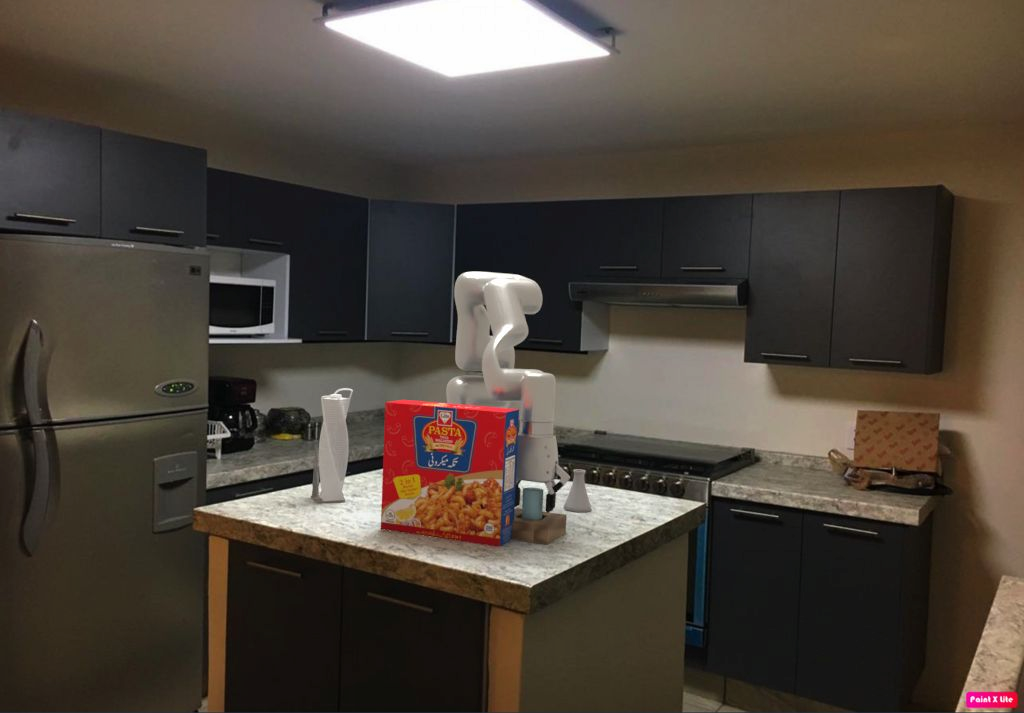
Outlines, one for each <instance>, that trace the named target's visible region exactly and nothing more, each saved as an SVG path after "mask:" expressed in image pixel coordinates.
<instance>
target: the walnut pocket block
mask: <svg viewBox="0 0 1024 713" xmlns="http://www.w3.org/2000/svg"><path fill="white" fill-rule="evenodd" d="M566 530H567V514H563V513H556V512H551V511H550V512H546V511H543V510H542V520H540V521H537V520H530V519H523V518H522V507H521V508H520V507H515V513H514V520H513V526H512V540H516V541H521V542H527V543H535V544H540V545H541V544H542V545H549V544H551V543H552V542H554V541H556V540H557V539H558V538H559V537H561V536H562V535H564V534H565V533H567V532H566Z"/></svg>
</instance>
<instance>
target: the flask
mask: <svg viewBox="0 0 1024 713" xmlns="http://www.w3.org/2000/svg"><path fill="white" fill-rule="evenodd" d="M572 472H573V480H572V486H570V487H571V488H570V490H569V492H568V496H567V497H566V500H565V502H564V504H563V509H564V510H565V511H571V512H578V513H579V512H580V513H581V512H583V513H584V512H585V513H586V512H590V511H592V506H591V503H590V499H589V496H588V491H587V488H586V481H585V474H586V473H587V471H586V470H585V469H581V468H580V469H578V468H577V469H573V470H572Z"/></svg>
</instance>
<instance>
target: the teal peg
mask: <svg viewBox="0 0 1024 713" xmlns="http://www.w3.org/2000/svg"><path fill="white" fill-rule="evenodd" d="M543 505H544V489H543V488H539V487H524V488H523V489H522V504H521V506H522V507H521V509H522V518H523V519H530V520H537V521H540V520H542V511H543V509H544V508H543V507H544V506H543Z"/></svg>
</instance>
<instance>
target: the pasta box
mask: <svg viewBox="0 0 1024 713" xmlns="http://www.w3.org/2000/svg"><path fill="white" fill-rule="evenodd" d="M384 408H385V409H384V429H383V430H384V431H383V432H384V433H383V434H384V435H383V455H382V456H383V458H382V484H381V485H382V486H381V506H380V508H381V509H380V511H381V513H380V530H382V529H385V530H384V531H389V530H391V531H390V532H396V531H397V532H398V533H402V532H404V534H411V535H416V536H417V535H418V536H422V535H424V537H429V536H431V537H430V538H435V537H437V538H436V539H442V538H443V539H444V540H450V541H455V542H456V541H457V542H463V543H469V544H470V543H471V544H477V545H482V546H490V547H495V548H496V547H497V548H500V547H502V546H504V545H506V544H507V543H508V542H510V541H512V540H513V539H512V526H513V520H514V513H515V509H516V507H515V491H516V468H517V446H518V433H519V431H518V423H519V420H520V408H517V409H516V408H509V407H507V408H497V407H485V406H473V405H461V404H449V403H447V402H434V401H423V400H413V399H411V400H410V399H409V400H408V399H398V400H392V401H386V402H385V406H384Z"/></svg>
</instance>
